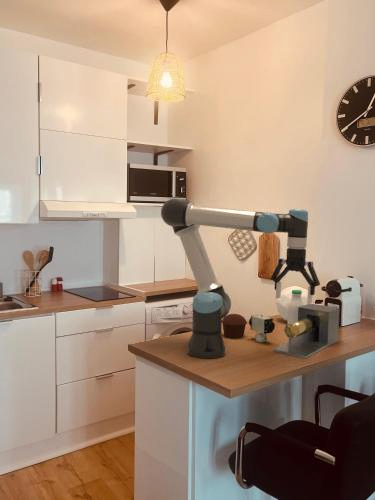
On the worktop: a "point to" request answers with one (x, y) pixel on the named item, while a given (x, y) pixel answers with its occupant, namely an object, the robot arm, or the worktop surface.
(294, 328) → the golden cylinder
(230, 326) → the muffin
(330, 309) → the housing
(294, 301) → the milk bottle
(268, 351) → the worktop surface
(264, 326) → the pneumatic valve
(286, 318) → the ball
